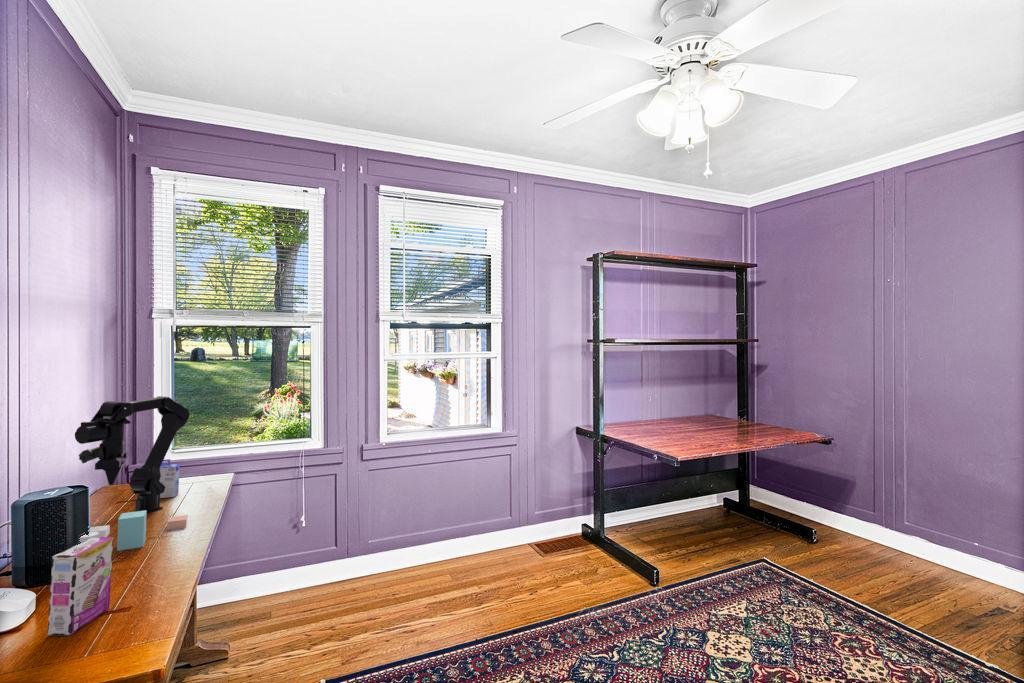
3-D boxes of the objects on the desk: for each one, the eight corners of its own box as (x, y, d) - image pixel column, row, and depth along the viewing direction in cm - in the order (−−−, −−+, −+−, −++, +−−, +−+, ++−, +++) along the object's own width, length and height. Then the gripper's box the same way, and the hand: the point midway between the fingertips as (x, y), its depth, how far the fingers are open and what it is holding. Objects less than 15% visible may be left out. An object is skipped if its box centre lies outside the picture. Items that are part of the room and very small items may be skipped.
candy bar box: (72, 636, 101) (75, 556, 102) (46, 637, 101) (49, 556, 101) (111, 608, 112) (114, 536, 113) (88, 608, 112) (91, 536, 112)
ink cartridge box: (179, 493, 201) (180, 458, 201) (175, 497, 196) (177, 460, 196) (150, 495, 197) (151, 459, 198) (145, 499, 192) (147, 462, 192)
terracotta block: (169, 529, 162) (169, 517, 162) (187, 527, 164) (187, 515, 164) (166, 534, 157) (167, 521, 157) (185, 531, 160) (186, 519, 160)
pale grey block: (88, 540, 151) (89, 527, 151) (109, 537, 154) (109, 525, 154) (83, 546, 147) (84, 532, 147) (104, 543, 149) (105, 530, 149)
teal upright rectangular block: (120, 543, 146) (121, 513, 146) (145, 540, 149) (146, 510, 149) (116, 550, 140) (118, 519, 141) (142, 547, 144) (144, 516, 144)
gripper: (88, 436, 170) (86, 481, 170) (74, 445, 154) (72, 495, 154) (128, 433, 176) (127, 477, 175) (119, 442, 160) (118, 490, 159)
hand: (111, 484), depth 166 cm, fingers closed
